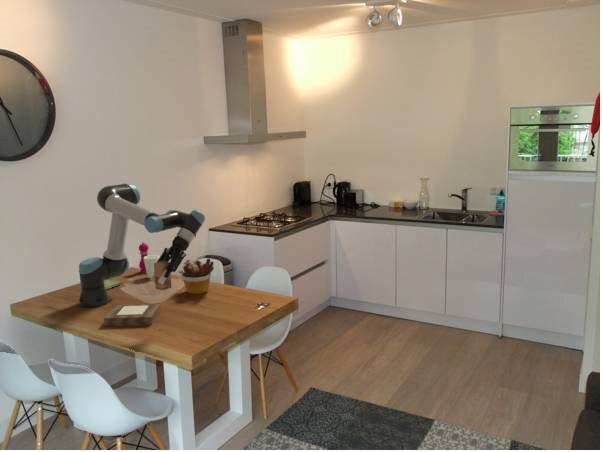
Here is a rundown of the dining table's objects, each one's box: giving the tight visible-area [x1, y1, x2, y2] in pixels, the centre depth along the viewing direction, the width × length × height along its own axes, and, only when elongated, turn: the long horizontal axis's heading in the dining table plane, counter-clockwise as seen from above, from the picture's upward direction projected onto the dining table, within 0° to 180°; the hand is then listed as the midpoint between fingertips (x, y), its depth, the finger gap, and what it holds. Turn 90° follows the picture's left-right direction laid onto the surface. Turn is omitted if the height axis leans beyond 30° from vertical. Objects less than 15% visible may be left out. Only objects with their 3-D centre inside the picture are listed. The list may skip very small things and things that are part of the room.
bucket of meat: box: [178, 258, 215, 295], centre depth 294 cm, size 20×16×20 cm
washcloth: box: [104, 279, 122, 291], centre depth 310 cm, size 13×18×3 cm
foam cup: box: [144, 254, 160, 279], centre depth 324 cm, size 10×9×13 cm
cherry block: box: [154, 261, 172, 291], centre depth 240 cm, size 5×5×12 cm
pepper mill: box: [138, 241, 150, 274], centre depth 336 cm, size 7×7×20 cm
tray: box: [103, 303, 162, 327], centre depth 255 cm, size 22×18×4 cm
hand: (156, 282), depth 238 cm, fingers closed on cherry block, 5 cm apart
